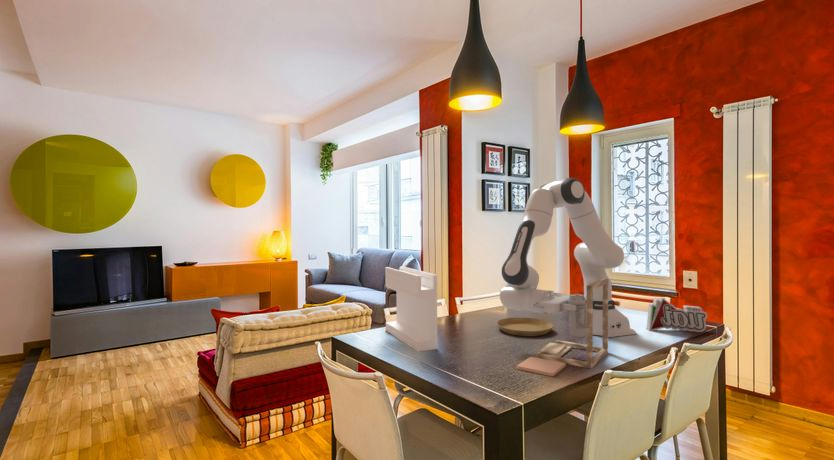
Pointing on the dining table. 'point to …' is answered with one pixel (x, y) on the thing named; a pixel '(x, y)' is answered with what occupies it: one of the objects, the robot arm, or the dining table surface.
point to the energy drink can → (578, 317)
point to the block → (414, 307)
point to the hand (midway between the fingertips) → (579, 306)
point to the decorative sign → (675, 317)
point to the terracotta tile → (541, 366)
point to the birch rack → (588, 332)
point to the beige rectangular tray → (555, 349)
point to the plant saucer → (524, 326)
